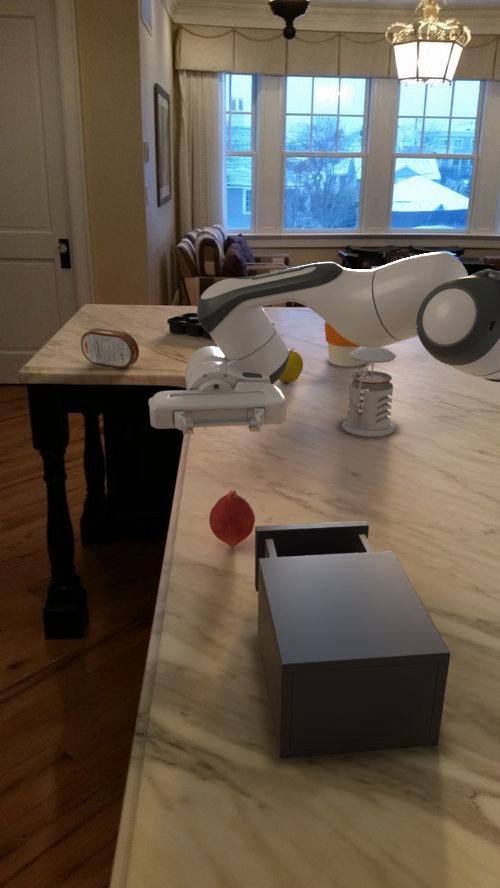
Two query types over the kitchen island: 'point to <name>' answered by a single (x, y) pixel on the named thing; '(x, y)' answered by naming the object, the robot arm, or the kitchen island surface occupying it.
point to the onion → (232, 519)
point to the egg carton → (188, 325)
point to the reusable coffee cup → (340, 348)
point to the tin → (109, 348)
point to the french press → (370, 395)
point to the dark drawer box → (348, 654)
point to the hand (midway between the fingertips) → (221, 428)
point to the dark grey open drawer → (310, 540)
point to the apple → (292, 367)
